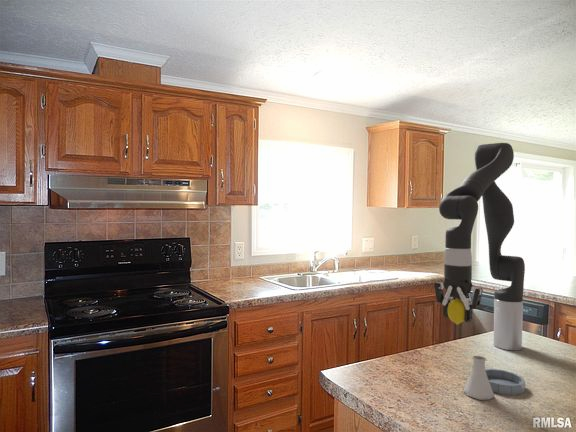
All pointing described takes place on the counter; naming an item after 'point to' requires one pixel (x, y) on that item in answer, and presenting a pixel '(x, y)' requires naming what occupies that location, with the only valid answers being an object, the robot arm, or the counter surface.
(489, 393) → the flask
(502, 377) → the dish
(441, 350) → the counter surface
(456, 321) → the lemon
